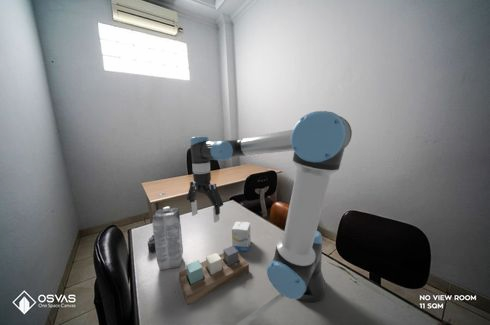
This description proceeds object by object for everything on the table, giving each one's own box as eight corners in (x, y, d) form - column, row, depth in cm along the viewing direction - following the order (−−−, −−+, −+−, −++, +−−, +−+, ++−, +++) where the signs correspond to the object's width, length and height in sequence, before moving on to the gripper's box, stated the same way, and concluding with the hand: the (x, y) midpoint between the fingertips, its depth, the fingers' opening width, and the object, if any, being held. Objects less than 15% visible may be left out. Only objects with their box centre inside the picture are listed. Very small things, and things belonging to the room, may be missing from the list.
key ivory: (222, 269, 72) (221, 258, 71) (211, 274, 69) (210, 263, 68) (217, 262, 76) (216, 252, 75) (206, 267, 73) (206, 256, 72)
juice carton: (181, 268, 78) (176, 211, 74) (156, 272, 76) (149, 214, 72) (184, 255, 86) (179, 203, 82) (162, 258, 84) (155, 206, 80)
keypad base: (248, 271, 74) (248, 264, 74) (187, 304, 61) (186, 296, 60) (234, 254, 85) (233, 248, 85) (179, 279, 71) (178, 272, 71)
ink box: (248, 251, 87) (247, 230, 85) (232, 250, 89) (231, 229, 87) (251, 241, 96) (250, 221, 94) (236, 240, 97) (235, 220, 96)
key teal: (203, 278, 67) (202, 267, 67) (191, 284, 65) (189, 272, 64) (199, 270, 71) (198, 260, 71) (187, 276, 69) (186, 265, 68)
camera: (159, 257, 86) (157, 238, 84) (146, 253, 89) (144, 235, 87) (180, 239, 100) (178, 223, 99) (168, 237, 103) (167, 221, 102)
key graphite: (238, 261, 76) (238, 251, 75) (228, 266, 73) (228, 255, 73) (233, 255, 80) (232, 245, 79) (224, 259, 77) (223, 249, 77)
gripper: (229, 172, 72) (232, 220, 75) (189, 168, 85) (192, 209, 89) (218, 176, 66) (221, 228, 69) (176, 171, 79) (180, 215, 82)
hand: (205, 217), depth 79 cm, fingers open, 13 cm apart
